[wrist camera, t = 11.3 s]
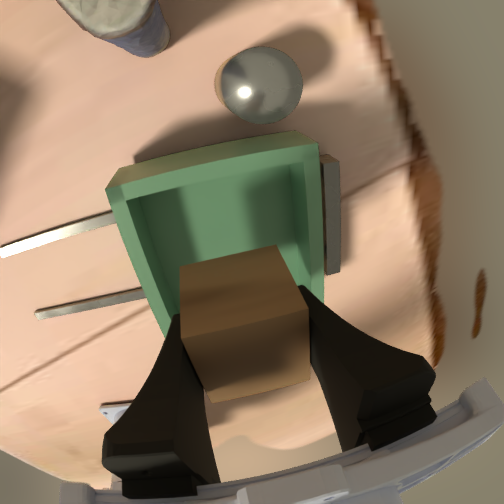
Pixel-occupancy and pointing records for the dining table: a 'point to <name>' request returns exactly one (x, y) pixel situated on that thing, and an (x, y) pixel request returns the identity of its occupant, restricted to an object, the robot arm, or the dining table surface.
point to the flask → (122, 23)
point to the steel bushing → (259, 85)
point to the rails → (331, 266)
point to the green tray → (221, 211)
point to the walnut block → (244, 324)
